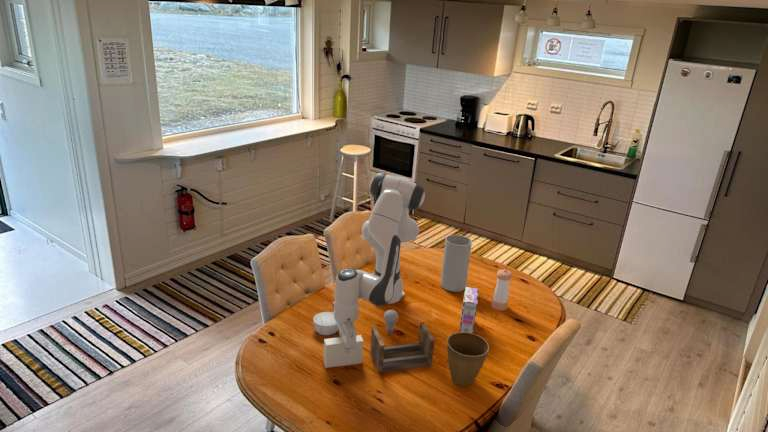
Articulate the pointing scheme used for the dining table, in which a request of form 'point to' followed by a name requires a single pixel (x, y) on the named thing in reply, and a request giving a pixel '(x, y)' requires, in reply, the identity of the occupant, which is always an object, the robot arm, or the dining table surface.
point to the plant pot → (465, 356)
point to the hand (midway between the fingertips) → (344, 344)
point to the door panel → (342, 352)
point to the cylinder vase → (455, 262)
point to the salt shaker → (501, 290)
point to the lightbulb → (390, 320)
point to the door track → (402, 352)
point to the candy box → (469, 310)
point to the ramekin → (325, 323)
